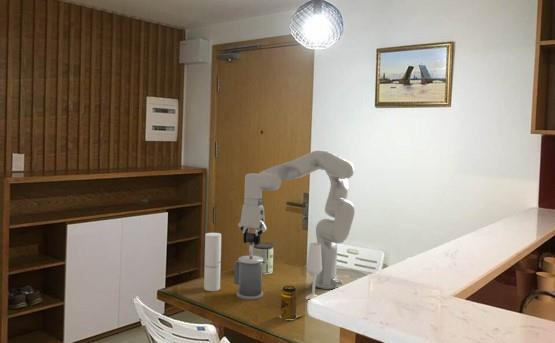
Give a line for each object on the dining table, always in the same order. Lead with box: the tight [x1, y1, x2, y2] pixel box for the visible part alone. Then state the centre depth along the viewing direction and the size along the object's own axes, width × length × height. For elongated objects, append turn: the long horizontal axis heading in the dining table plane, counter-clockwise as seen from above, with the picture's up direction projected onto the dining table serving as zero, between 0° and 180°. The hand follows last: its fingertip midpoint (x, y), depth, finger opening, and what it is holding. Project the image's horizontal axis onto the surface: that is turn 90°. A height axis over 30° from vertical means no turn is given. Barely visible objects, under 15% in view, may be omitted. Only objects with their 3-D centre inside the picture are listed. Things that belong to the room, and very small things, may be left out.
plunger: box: [246, 231, 256, 259], centre depth 215 cm, size 5×5×11 cm
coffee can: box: [253, 242, 274, 275], centre depth 253 cm, size 10×10×14 cm
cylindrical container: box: [203, 232, 222, 292], centre depth 223 cm, size 7×7×25 cm
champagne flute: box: [305, 242, 322, 300], centre depth 215 cm, size 7×7×24 cm
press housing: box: [233, 255, 264, 301], centre depth 216 cm, size 14×12×16 cm
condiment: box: [280, 285, 298, 320], centre depth 192 cm, size 7×8×12 cm
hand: (251, 243), depth 215 cm, fingers closed on plunger, 5 cm apart
